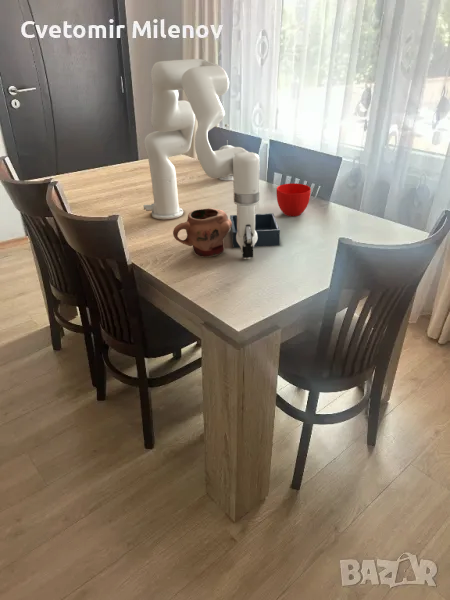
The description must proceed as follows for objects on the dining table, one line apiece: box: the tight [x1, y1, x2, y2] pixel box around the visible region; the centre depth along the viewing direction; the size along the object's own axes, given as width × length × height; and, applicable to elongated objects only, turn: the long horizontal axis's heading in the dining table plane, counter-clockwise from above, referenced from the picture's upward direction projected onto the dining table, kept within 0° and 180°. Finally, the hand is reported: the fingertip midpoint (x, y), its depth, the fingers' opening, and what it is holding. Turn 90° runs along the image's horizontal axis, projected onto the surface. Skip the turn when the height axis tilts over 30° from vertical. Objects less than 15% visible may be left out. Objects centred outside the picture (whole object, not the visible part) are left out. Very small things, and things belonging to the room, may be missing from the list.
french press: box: [218, 123, 234, 181], centre depth 212 cm, size 10×12×25 cm
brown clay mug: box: [172, 207, 232, 258], centre depth 142 cm, size 20×12×14 cm, turn 122°
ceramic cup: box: [276, 182, 312, 217], centre depth 173 cm, size 13×17×10 cm
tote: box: [229, 212, 281, 249], centre depth 154 cm, size 16×16×6 cm
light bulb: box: [236, 231, 258, 261], centre depth 138 cm, size 7×7×11 cm
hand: (246, 251), depth 139 cm, fingers closed on light bulb, 6 cm apart
